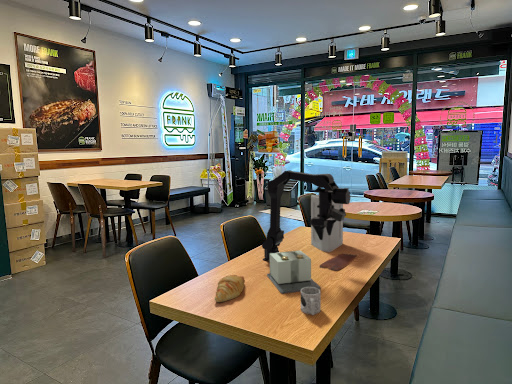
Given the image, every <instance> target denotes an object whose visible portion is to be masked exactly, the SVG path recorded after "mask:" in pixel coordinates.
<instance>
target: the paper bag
mask: <svg viewBox="0 0 512 384" xmlns="http://www.w3.org/2000/svg"><path fill="white" fill-rule="evenodd" d="M317 205H319V194H312V195H311V196H310V216H311V217H310V220H311V219H312V218H314V217H317V215H318V214H319V208H317ZM332 205H334V208H335V209H338V210H339V209H341V208H343V209H344V204H336V203H334V202H333V201H332ZM343 225H344V219H343V220H342V221H336V222H335V223H334V226H333V229H332V233H331V235H328V233H327V230H326V227H325V228H324V234H323V240H320V239H319V237H318V235H317V233H316V231H315V229H314V227H313V226H312V225H311V224H310V229H311V230H310V233H311V234H310V235H311V236H310V240H311V241H310V245H311V246H312V245H313V246H312V247H314V248H316V249H318V250H320V251H321V252H325V253H326V252H327V253H332V252H333V251H334V250H336V249H338V248H339V247H340V246H342V245H343V241H344V239H343V238H344V236H343V235H344V226H343Z"/></svg>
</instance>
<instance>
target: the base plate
mask: <svg viewBox="0 0 512 384" xmlns="http://www.w3.org/2000/svg"><path fill="white" fill-rule="evenodd" d="M297 258H298V259H301V258H303V255H297ZM282 259H283V260H284V261H285V260H286V259H288V256H282ZM266 276H267V277H268V279H269V280H270V281H271V283H273V285H274V286H275V287H276V289H277V290H278V292H279V293H280V294H281V295H283V294H289V293H290V294H292V293H297V292H300V293H301V289H302V288H305V287H315V288H318V289H319V290H322V288H321V286H320V285H319V284H318V283H317V282H316V281H315V280H314V279H312V278H311V280H307V281H299V282H291V283H283V284H278V283H277V282H276V281H275V279H274V278H273V277H272V276H271V275H270V272H269V273H266Z"/></svg>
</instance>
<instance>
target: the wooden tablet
mask: <svg viewBox="0 0 512 384" xmlns="http://www.w3.org/2000/svg"><path fill="white" fill-rule="evenodd" d="M357 257H358V255H357V254H352V253H339V254H338V255H335V256H333V257H331V258H329V259H327V260H326V261H323V262H322V263H321V264H320V265H319V268H321V269H324V270H325V269H327V270H329V271H333V272H338V271H340V270H342V269H344V268H345V267H346V266H348V265H349V264H350V263H352V262H353V261H354V260H355V259H356V258H357Z"/></svg>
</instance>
